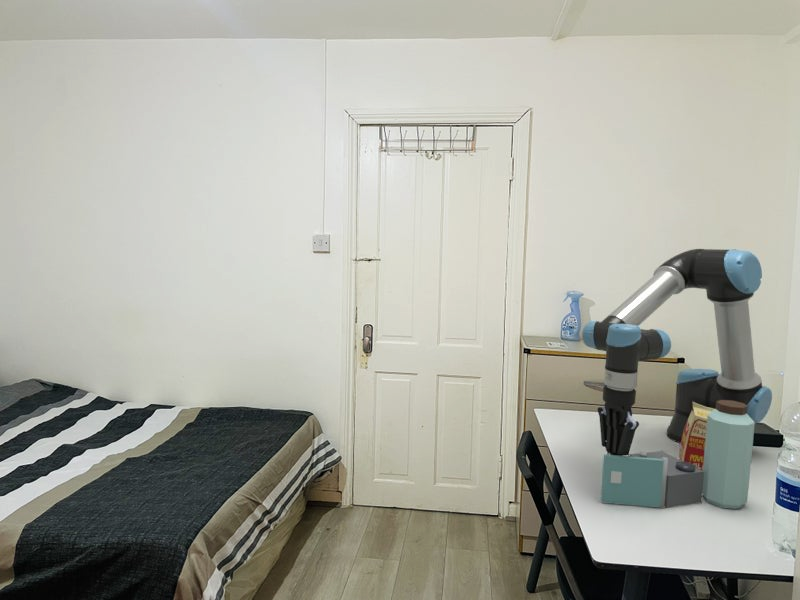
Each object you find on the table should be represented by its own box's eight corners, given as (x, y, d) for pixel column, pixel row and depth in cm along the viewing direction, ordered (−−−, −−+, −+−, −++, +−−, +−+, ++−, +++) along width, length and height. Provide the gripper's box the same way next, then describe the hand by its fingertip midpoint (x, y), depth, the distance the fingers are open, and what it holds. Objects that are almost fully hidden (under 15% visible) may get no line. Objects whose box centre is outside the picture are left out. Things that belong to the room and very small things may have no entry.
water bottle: (746, 514, 133) (756, 412, 130) (699, 503, 138) (707, 405, 135) (746, 498, 141) (756, 402, 138) (702, 488, 146) (710, 395, 144)
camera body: (659, 478, 152) (662, 447, 151) (701, 502, 138) (704, 467, 137) (626, 483, 149) (628, 450, 148) (665, 507, 135) (668, 472, 134)
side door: (663, 505, 136) (666, 457, 135) (665, 508, 134) (669, 459, 133) (600, 499, 138) (603, 452, 137) (602, 502, 137) (605, 455, 135)
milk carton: (681, 476, 154) (687, 405, 152) (677, 463, 163) (682, 396, 160) (718, 481, 151) (725, 409, 149) (712, 468, 159) (718, 400, 157)
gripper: (590, 380, 143) (584, 469, 146) (624, 395, 131) (616, 491, 133) (615, 379, 145) (608, 466, 148) (650, 393, 133) (642, 488, 135)
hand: (612, 478), depth 141 cm, fingers closed
